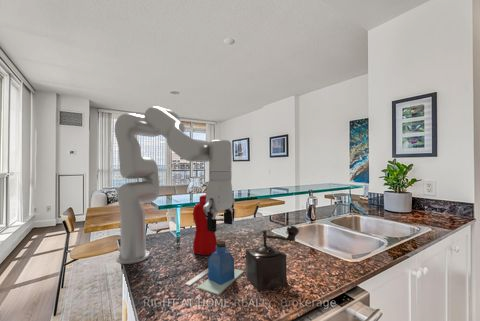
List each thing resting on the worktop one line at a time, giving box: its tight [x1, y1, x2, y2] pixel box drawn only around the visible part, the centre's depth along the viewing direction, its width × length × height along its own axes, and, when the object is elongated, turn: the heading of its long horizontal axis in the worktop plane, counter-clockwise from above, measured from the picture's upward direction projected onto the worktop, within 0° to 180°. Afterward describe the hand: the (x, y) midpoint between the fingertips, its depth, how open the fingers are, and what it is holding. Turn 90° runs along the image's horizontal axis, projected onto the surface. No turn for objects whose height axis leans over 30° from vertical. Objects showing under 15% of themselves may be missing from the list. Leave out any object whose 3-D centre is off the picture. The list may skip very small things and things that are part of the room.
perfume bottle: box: [207, 240, 235, 285], centre depth 76 cm, size 6×6×12 cm
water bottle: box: [192, 194, 218, 256], centre depth 101 cm, size 9×11×25 cm
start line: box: [184, 267, 208, 287], centre depth 80 cm, size 2×16×1 cm, turn 151°
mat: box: [196, 268, 245, 296], centre depth 76 cm, size 8×16×1 cm, turn 151°
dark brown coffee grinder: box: [245, 225, 300, 292], centre depth 76 cm, size 16×11×18 cm
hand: (220, 227), depth 76 cm, fingers open, 9 cm apart
